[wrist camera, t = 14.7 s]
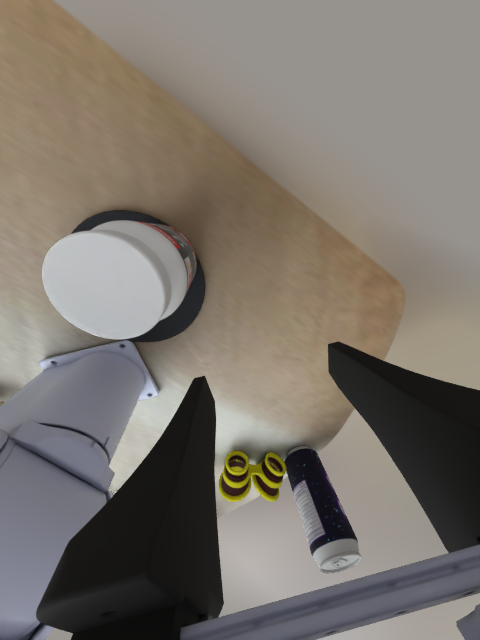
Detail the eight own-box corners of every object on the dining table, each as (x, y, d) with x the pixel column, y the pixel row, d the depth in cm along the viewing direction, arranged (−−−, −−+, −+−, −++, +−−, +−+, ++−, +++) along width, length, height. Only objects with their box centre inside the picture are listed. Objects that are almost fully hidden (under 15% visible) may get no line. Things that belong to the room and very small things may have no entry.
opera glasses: (280, 447, 33) (293, 477, 28) (271, 472, 34) (283, 505, 29) (224, 444, 30) (228, 476, 26) (217, 471, 31) (219, 506, 27)
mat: (108, 351, 20) (105, 354, 20) (32, 229, 15) (27, 229, 15) (218, 324, 21) (218, 326, 20) (181, 195, 16) (180, 194, 15)
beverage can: (293, 468, 34) (330, 577, 23) (276, 455, 32) (307, 569, 21) (320, 452, 33) (372, 559, 22) (304, 438, 31) (353, 549, 20)
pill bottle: (196, 227, 16) (176, 222, 7) (197, 292, 19) (183, 350, 10) (123, 221, 15) (-2, 208, 6) (134, 290, 18) (52, 351, 9)
